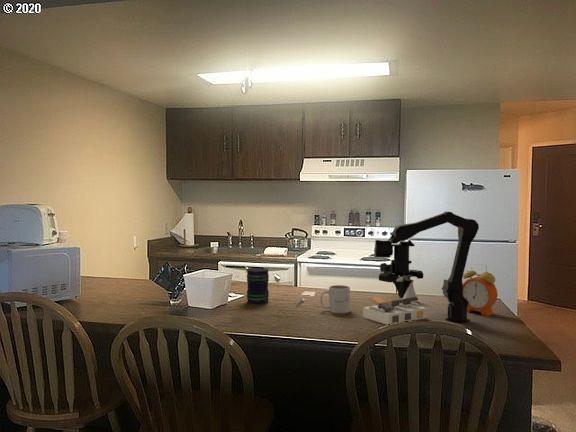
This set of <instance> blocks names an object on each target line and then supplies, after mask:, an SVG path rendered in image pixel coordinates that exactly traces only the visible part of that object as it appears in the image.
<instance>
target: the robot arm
mask: <svg viewBox="0 0 576 432" xmlns="http://www.w3.org/2000/svg"><path fill="white" fill-rule="evenodd" d="M447 223H448V224H449V225H453V226H454V227H456V228H457V238H458V242H457V246H456V252H455V256H454V259H453V264H452V267H451V272H450V276H449V278H448V279H446V278H445V279H443V285H442V287H441V290H442V294H443V296H444V298H446V299H447V301H448V304H447V305H448V306H447V317H446V318H445V320H446V321H450V322H453V323H458V324H460V323H466V322H469V321H471V320H470V319H469V318H468V312H467V306H468V303H469V301H468V300H467V299H465V298H464V297H463V283H464V282H463V279H464V278H463V275H464V274H465V269H466V264H467V259H468V256H469V251H470V248H471V244H472V242H473V240H474V239H475V237H476V236H477V234H478V231H479V227H480V226H479V223H478V222H477V221H476V220H475V219H472V218H464V217H463V216H461V215H457V214H455V213H453V212H452V211H444V212H443V213H439V214H436V215H433V216H431V217H428V218H425V219H422V220H419V221H417V222H412V223H404V224H399V225H396V226H395V227H394V228H393V231H392V235H391V236H390V237H389V238H388V240H380V239H376V240H374V241H375V242H374V248H373V253H374V258H383V259H384V258H386V259H388V258H390V257H391V256H393V259H391V261H390V264H387V263H386V262H383V263H380V264H379V265H380V266H379V269H380V272H381V273H379V274H378V281H379V282H385V283H392V284H394V287H395V288H396V291H397V295H398V296H399V299H403V297H404V295H405V293H406V291H407V289H408V287H409V286H410V284H411V282H413V283H414V281H413V280H414V279H411V278H414V277H415V278H416V279H418V280H419V279H424V272H423V271H422V270H417V269H410V265H411V264H412V260H410V247H415V243H413V242H412V241H411V238H414V236H416V235H417V234H419V233H421V232H424V231H427V230H429V229H432V228H435V227H438V226H441V225H444V224H447ZM410 279H411V280H410Z"/></svg>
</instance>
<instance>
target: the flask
mask: <svg viewBox="0 0 576 432" xmlns="http://www.w3.org/2000/svg"><path fill="white" fill-rule="evenodd" d="M410 280H413V282H411V284H410V286H409V287H408V289H407V291H406V293H405V295H404V297H403V298H402V299H406V298H411V297H417V294H416V292H415V288H414V281H415V280H414V279H412V278H410ZM411 302H413V303H417V304H418V302H419V299H418V300H416V301H411Z"/></svg>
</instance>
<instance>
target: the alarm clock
mask: <svg viewBox="0 0 576 432" xmlns="http://www.w3.org/2000/svg"><path fill="white" fill-rule="evenodd" d="M478 265H480V266H481V265H482V264H480V263H479V264H478ZM487 269H488V267H487V265H485V271H483V273H481V274H478V273H477V272H476V271H475V270H473V268H471V270H467V271H466V272H464V274H463V278H462V279H463V280H465V281H464V282H462V283H463V297H464V298H465V299H467V300H468V301H469V303H468V306H467V313H471V312H474V311H480V314H481V316H486V317H488V316H491V315H494V311H493V309H492V307H493V306H494V305H495V304H496V302H497V299H498V296H499V295H498V290H497V287H496V285H495V282H496V276H494V275H493V274H492V273H491V272H490V273H489V272H488V270H487ZM474 276H476V277H474Z"/></svg>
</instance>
